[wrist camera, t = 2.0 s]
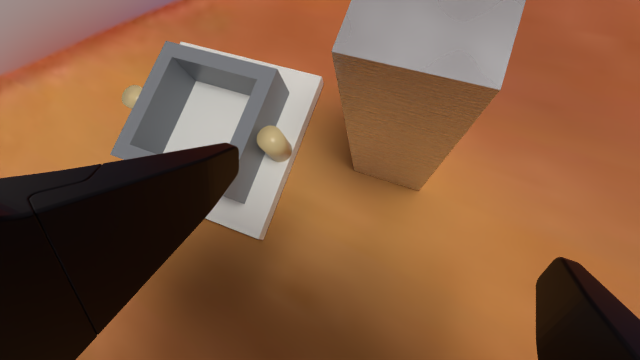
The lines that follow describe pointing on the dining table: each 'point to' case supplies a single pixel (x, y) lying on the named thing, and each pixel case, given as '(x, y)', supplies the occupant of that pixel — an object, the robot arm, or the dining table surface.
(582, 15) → the dining table surface
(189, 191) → the robot arm
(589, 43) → the dining table surface
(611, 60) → the dining table surface
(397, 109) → the grey metal square bar
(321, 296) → the dining table surface
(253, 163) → the housing plate
